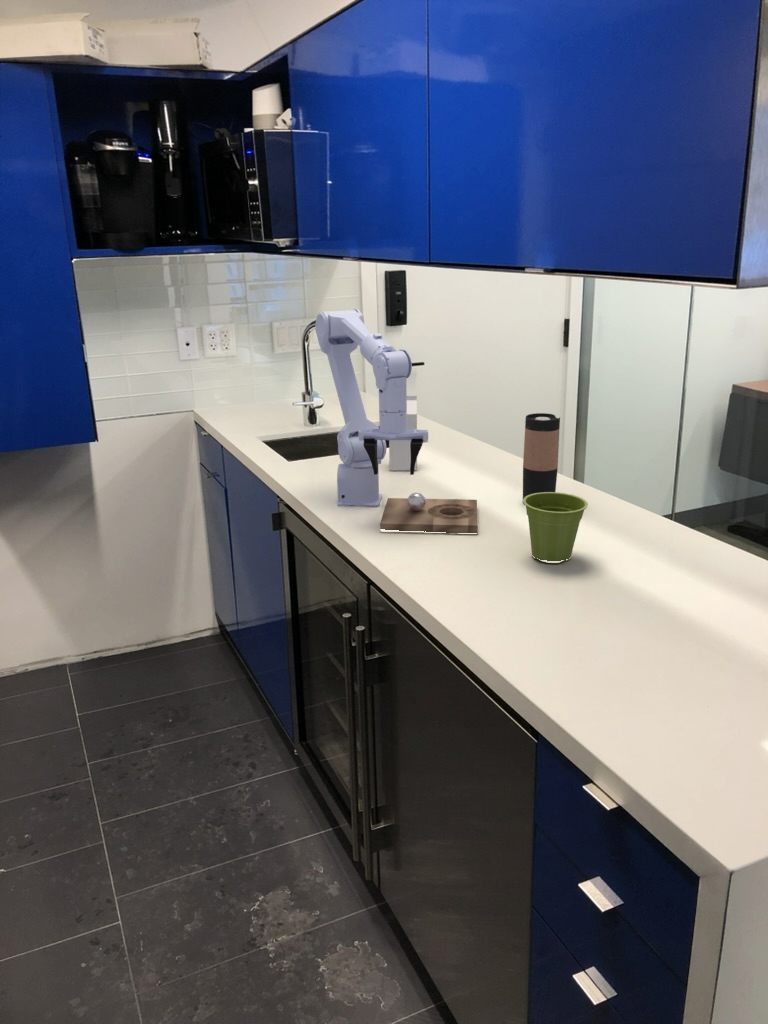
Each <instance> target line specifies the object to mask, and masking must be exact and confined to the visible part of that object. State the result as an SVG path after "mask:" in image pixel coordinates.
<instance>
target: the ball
mask: <svg viewBox="0 0 768 1024" xmlns="http://www.w3.org/2000/svg"><path fill="white" fill-rule="evenodd" d="M407 498H408V499H407V505H408V507H409V508H410V509H411V510H413V511H420V510H422V509H423V508H424V507H425V504H426V500H425V499H426V497H425V496H424V494H422V493H421V492H414V493H411V494H409V496H408V497H407Z"/></svg>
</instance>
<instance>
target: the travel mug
mask: <svg viewBox="0 0 768 1024" xmlns="http://www.w3.org/2000/svg"><path fill="white" fill-rule="evenodd" d="M524 424H525V425H524V442H523V462H522V500H523V499H524V498H525V497H526V496H528V495H530V494H534V493H541V492H556V489H557V481H558V480H557V479H558V469H559V467H558V466H559V448H560V447H559V446H560V428H561V427H560V426H561V425H560V424H561V417H556V415H555V414H552V413H544V412H543V413H542V412H541V413H539V412H538V413H537V412H536V413H530V414H527V415H526V416H525V421H524ZM522 503H523V502H522ZM523 504H524V503H523ZM524 506H526V505H525V504H524Z"/></svg>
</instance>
